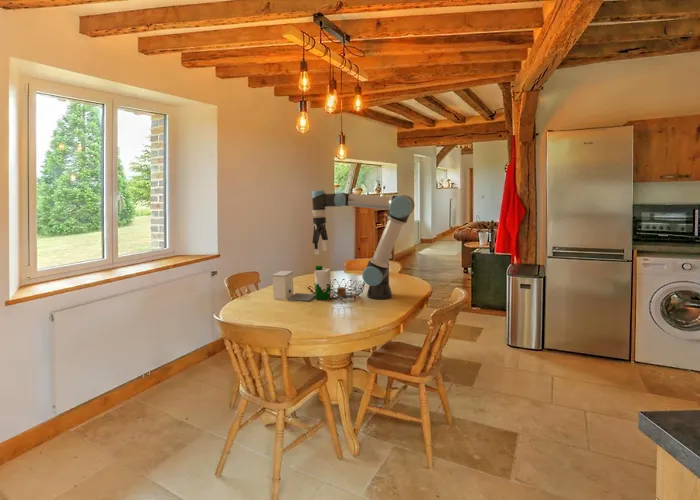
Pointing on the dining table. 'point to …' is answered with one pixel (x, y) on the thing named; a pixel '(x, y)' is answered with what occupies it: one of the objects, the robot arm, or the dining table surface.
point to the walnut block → (341, 291)
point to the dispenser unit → (282, 285)
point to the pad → (302, 297)
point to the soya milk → (322, 283)
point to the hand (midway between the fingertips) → (320, 252)
